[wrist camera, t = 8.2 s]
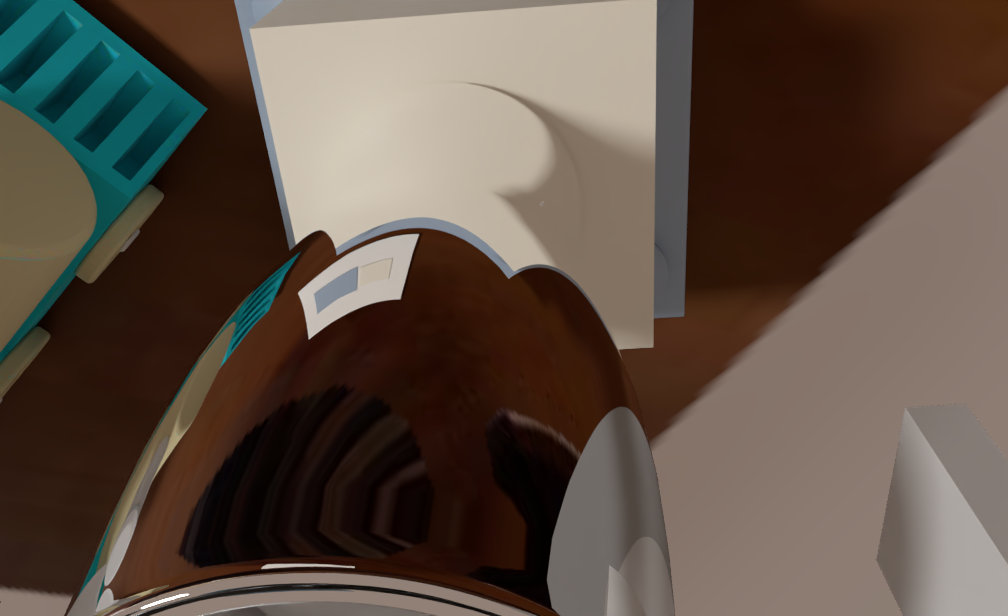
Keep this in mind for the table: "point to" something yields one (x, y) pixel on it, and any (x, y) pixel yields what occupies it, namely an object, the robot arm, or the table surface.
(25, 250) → the toy train
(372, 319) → the beer glass
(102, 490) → the table surface
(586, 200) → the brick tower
